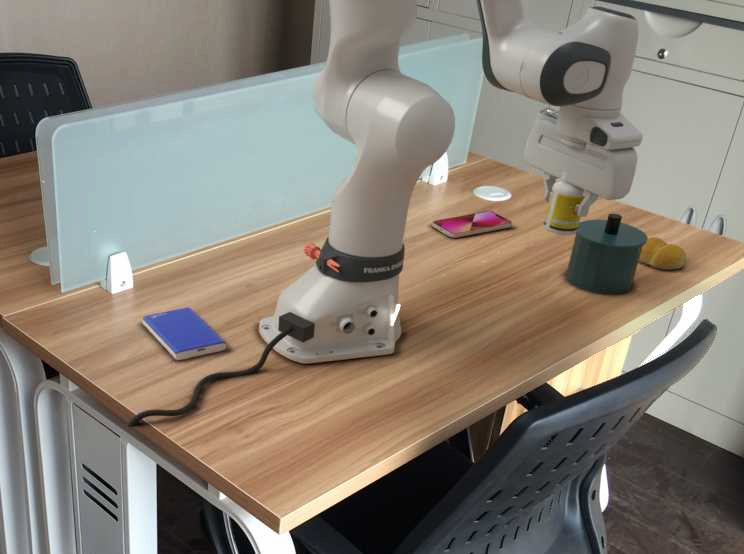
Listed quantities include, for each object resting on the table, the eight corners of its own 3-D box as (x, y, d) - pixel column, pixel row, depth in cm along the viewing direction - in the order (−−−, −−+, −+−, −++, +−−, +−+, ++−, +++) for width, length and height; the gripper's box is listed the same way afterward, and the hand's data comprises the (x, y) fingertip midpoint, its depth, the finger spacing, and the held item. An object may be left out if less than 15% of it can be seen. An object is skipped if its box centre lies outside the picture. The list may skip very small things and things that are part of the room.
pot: (598, 298, 162) (610, 251, 157) (553, 273, 170) (563, 228, 165) (644, 287, 166) (657, 242, 161) (598, 263, 174) (609, 219, 169)
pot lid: (609, 256, 157) (616, 233, 154) (558, 231, 165) (563, 208, 163) (661, 246, 162) (667, 223, 159) (608, 221, 170) (614, 199, 168)
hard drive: (142, 316, 146) (176, 351, 137) (190, 306, 149) (226, 340, 140) (142, 325, 147) (176, 361, 138) (190, 315, 150) (226, 350, 141)
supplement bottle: (583, 234, 154) (599, 175, 148) (555, 237, 152) (570, 177, 147) (563, 222, 158) (578, 164, 153) (536, 224, 156) (550, 166, 151)
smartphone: (430, 221, 186) (490, 210, 192) (429, 226, 187) (489, 214, 192) (453, 234, 181) (514, 223, 186) (452, 239, 181) (513, 227, 187)
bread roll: (670, 275, 171) (676, 254, 169) (625, 258, 177) (631, 238, 174) (692, 264, 176) (699, 243, 173) (648, 248, 181) (654, 228, 179)
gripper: (525, 105, 152) (507, 189, 159) (621, 142, 137) (596, 232, 144) (554, 103, 154) (535, 185, 162) (651, 138, 140) (626, 227, 147)
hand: (564, 208), depth 153 cm, fingers closed on supplement bottle, 5 cm apart
